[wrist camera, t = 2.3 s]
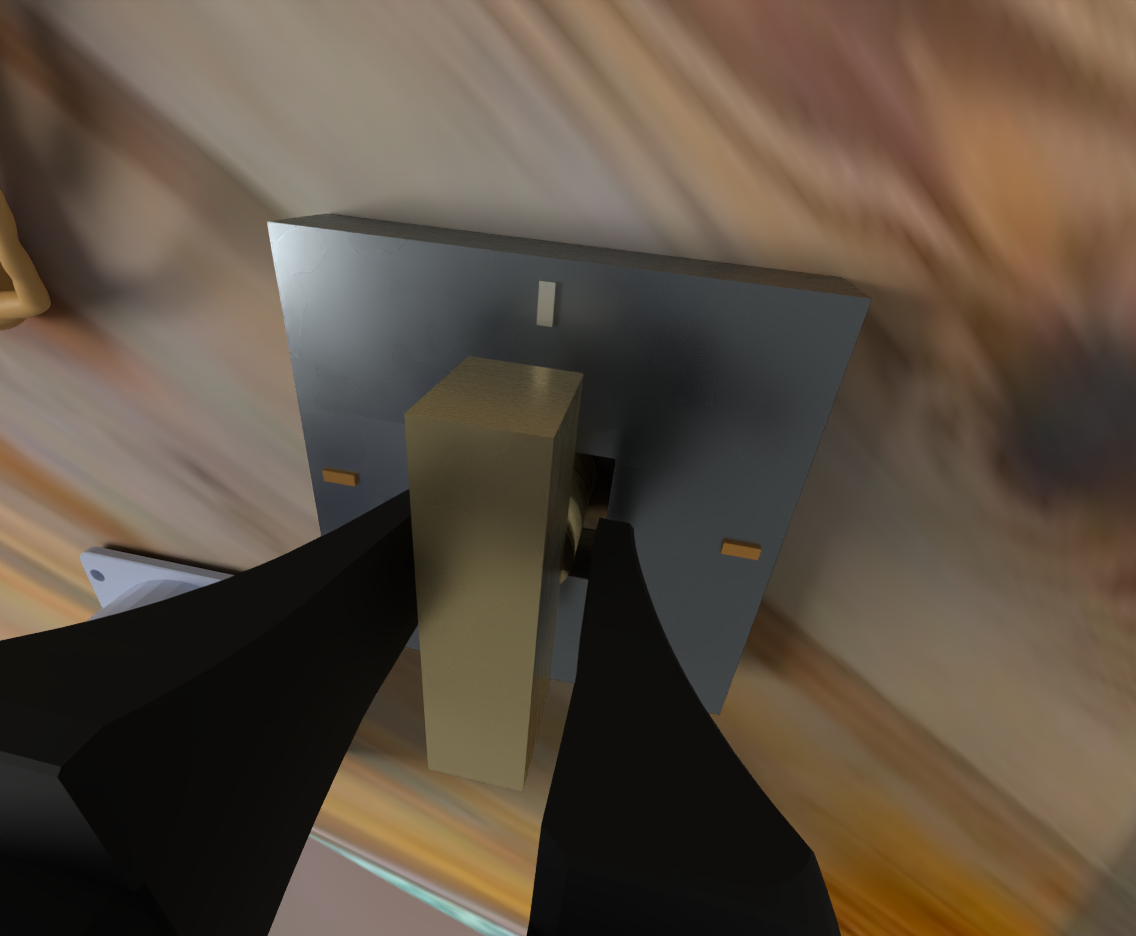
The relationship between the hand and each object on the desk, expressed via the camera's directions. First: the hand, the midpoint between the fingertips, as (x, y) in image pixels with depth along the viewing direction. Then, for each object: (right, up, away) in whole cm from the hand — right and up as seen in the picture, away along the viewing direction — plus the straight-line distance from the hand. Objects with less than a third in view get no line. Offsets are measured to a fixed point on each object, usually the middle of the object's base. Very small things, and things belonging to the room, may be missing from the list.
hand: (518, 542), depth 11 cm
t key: (+1, +2, +3) cm, 3 cm away
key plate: (+1, +2, +3) cm, 3 cm away
